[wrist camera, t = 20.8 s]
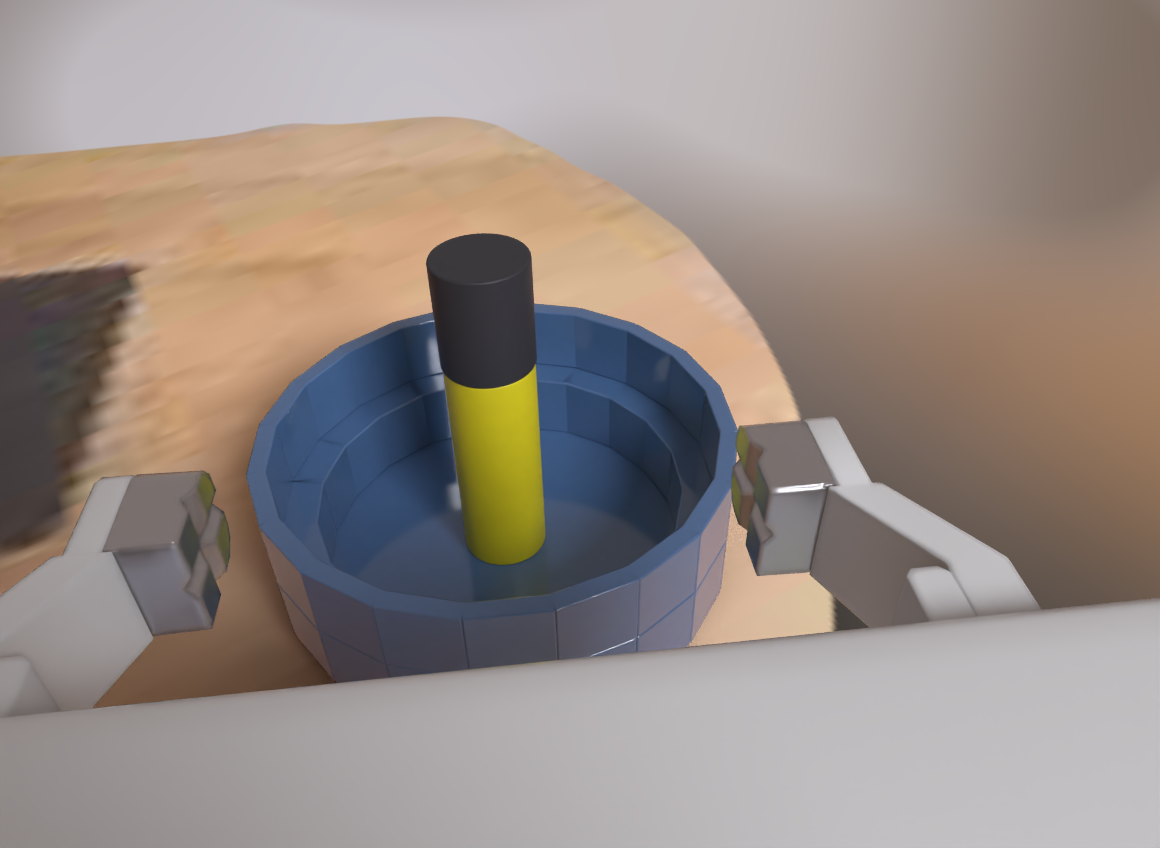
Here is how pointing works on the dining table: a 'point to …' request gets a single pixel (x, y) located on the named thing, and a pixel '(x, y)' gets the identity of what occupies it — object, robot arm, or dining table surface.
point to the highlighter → (491, 390)
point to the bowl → (434, 515)
